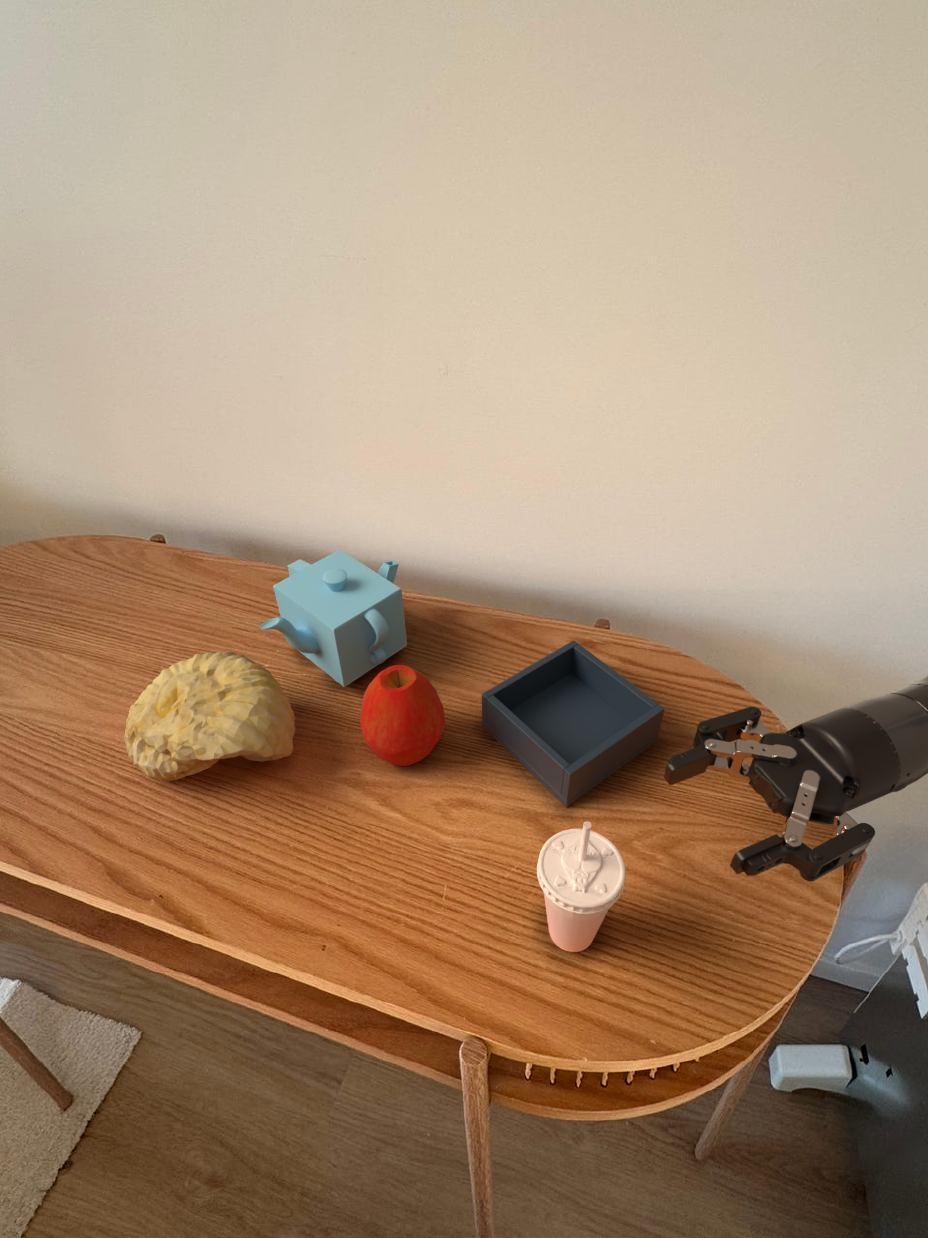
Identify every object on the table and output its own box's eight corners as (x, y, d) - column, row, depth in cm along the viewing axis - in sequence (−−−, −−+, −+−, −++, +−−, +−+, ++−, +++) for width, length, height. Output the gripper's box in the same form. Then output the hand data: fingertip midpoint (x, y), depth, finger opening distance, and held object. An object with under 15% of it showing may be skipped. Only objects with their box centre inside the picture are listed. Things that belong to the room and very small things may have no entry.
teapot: (445, 646, 85) (441, 569, 77) (321, 733, 75) (302, 654, 68) (359, 588, 93) (348, 513, 86) (237, 660, 84) (213, 582, 76)
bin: (657, 741, 74) (665, 708, 70) (566, 808, 68) (570, 774, 65) (570, 672, 81) (573, 639, 78) (481, 726, 76) (481, 693, 72)
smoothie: (612, 899, 61) (634, 799, 52) (610, 976, 56) (634, 881, 47) (536, 887, 62) (544, 787, 53) (527, 962, 57) (535, 867, 48)
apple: (463, 746, 74) (460, 671, 67) (401, 795, 69) (391, 720, 62) (409, 704, 78) (401, 629, 71) (348, 747, 74) (333, 672, 67)
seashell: (246, 694, 83) (107, 739, 74) (245, 614, 77) (94, 653, 68) (322, 787, 73) (171, 853, 64) (327, 704, 67) (163, 763, 58)
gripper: (814, 662, 63) (654, 720, 58) (956, 789, 53) (775, 870, 48) (791, 720, 68) (641, 777, 63) (916, 846, 58) (748, 924, 53)
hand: (699, 817), depth 56 cm, fingers open, 8 cm apart
